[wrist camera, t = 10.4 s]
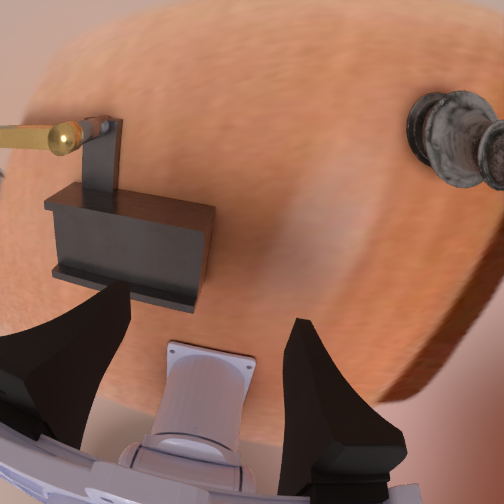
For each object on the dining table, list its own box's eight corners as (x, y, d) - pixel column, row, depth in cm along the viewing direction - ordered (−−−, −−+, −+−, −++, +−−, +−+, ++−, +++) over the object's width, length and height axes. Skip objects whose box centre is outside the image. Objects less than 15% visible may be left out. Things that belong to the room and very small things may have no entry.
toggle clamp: (204, 280, 24) (193, 313, 21) (77, 251, 24) (52, 277, 21) (228, 130, 19) (218, 140, 16) (77, 113, 19) (43, 121, 15)
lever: (-20, 147, 16) (-39, 154, 14) (-21, 122, 15) (-40, 128, 13) (83, 152, 16) (64, 160, 14) (84, 121, 15) (64, 126, 13)
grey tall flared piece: (385, 117, 18) (501, 159, 7) (448, 73, 16) (583, 86, 5) (428, 188, 20) (534, 282, 9) (485, 145, 18) (606, 207, 7)
